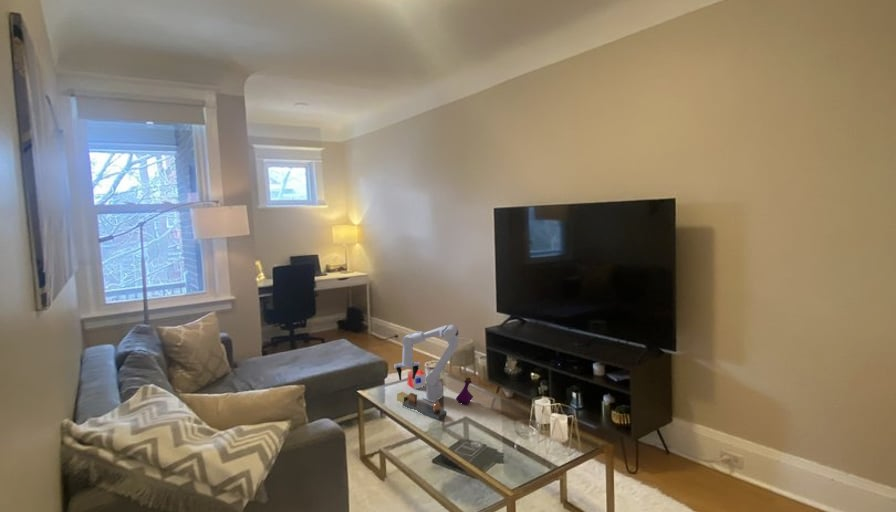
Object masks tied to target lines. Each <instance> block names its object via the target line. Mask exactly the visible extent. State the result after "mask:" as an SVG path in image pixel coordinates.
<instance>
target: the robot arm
mask: <svg viewBox="0 0 896 512" xmlns="http://www.w3.org/2000/svg"><path fill="white" fill-rule="evenodd" d="M459 334H460V332H459V329H458V327H457V326H456V325H455V324H453V323H452V324H449V325H446V324H445V325H442V326H440V327H436V328H434V329H431V330H428V331H425V332H424V331H421V330H417V331H416V332H415V333H409V334H406V335H405V336H404V337H403V338H402V339H401V344H402V354H401V355H402V357H401V358H402V362H398V363H394V366H393V367H394V369H396V371H397V375H398V379H399V381H402V372H403V371H402V368H412V371H413V374H412V378H413V379H415V375H416V373H417V371H418V370H420V369H419V367H421V362H419V361H417V362H416V361H413V359H414V358H413V357H414V356H413V354H414V349H413V348H414V346H413V345H416V344H419V343H423V342H425V341H426V339H429V338H433V337H437V336H439V337H441V338H444V339H445V340H446V342H447V344H448V346H447V348H446V349H445V351H444V352H443V354H442V356H441V357H440V359H439V360H438V362H437V363H436V364H435V366H434V368H433V369H431V370H430V371H429V373H428V375H427V376H426V382H425V389H426V390H425V396H426V398H424V397H425V396H423V397H422V399H423V398H424V399H423V400H425V399H426V401H427V402H432V403H437V401H439V400H441V399H440V398H439V397H440V396H443V383H442V382H441V381H440V380H439V378H441V373H442V372H443V370H444V368H445V367H446V365H447V364H448V362H449V361H450V359H451V357H453V355H454V353H455V351H457V349H458V347H459V345H460V343H459V341H460V339H459ZM438 398H439V400H438Z"/></svg>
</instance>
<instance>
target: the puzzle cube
mask: <svg viewBox="0 0 896 512" xmlns="http://www.w3.org/2000/svg"><path fill="white" fill-rule="evenodd" d="M412 374H413V370H410V371H407V380H406V381H407V383H406V384H407V385H408V386H409V387H411V388H412V389H413V390H416V389H420V388H419V387H421V388H423V387H422V386H425V387H426V377H427V376H426V375H427V373H425V372H424V371H422V370H421V369H418V371H417V373H416V375H415V379H413V378H412Z"/></svg>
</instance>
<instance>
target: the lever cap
mask: <svg viewBox="0 0 896 512" xmlns="http://www.w3.org/2000/svg"><path fill="white" fill-rule="evenodd" d="M408 399H409V394H408V393H406V392H404V391H401V392H398V393H396V401H397V402H399V401H400V402H399V403H401V402H402V403H401V404H403V402H405V401H407V400H408Z"/></svg>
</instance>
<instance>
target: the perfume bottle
mask: <svg viewBox="0 0 896 512" xmlns="http://www.w3.org/2000/svg"><path fill="white" fill-rule="evenodd" d="M464 374H465V375H466V376H467V377H466V378H465V379H464V380H463V381H464V385H463V389H462V390H461V391H460V392H459V394H458V395H457V396H456V397H455V400H456V401H457V402H458V404H459V403H462V404H461V405H463V404H467V405H469V403H470V402H471V401H472V399H473V398H474V395H472V394H471V393H470V391H469V390H468V388H469V385H470V384H472V378H471V377H469V372H468V371H463V372H462V374H461V375H464ZM470 400H471V401H470Z"/></svg>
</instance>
